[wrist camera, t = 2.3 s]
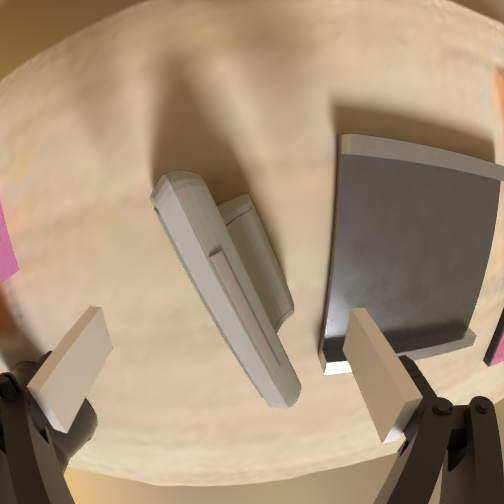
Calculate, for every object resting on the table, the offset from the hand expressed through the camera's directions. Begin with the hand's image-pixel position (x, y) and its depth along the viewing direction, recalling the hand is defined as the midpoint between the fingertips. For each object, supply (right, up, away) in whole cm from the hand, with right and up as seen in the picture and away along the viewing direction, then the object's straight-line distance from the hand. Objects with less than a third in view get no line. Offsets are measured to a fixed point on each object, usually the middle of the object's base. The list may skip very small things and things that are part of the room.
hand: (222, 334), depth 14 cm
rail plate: (+18, +4, +11) cm, 21 cm away
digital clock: (-1, +4, +10) cm, 11 cm away
